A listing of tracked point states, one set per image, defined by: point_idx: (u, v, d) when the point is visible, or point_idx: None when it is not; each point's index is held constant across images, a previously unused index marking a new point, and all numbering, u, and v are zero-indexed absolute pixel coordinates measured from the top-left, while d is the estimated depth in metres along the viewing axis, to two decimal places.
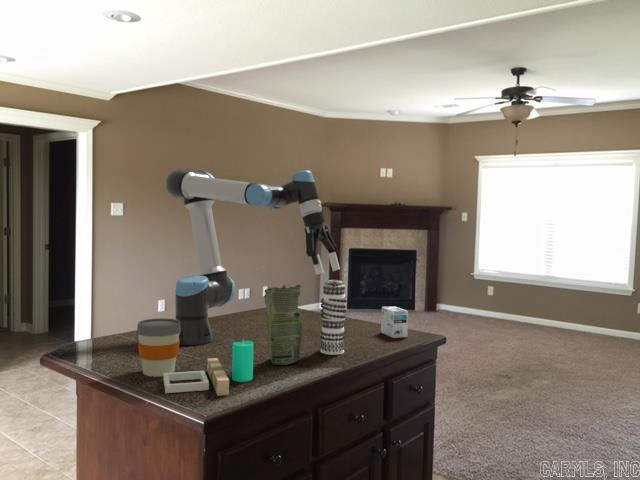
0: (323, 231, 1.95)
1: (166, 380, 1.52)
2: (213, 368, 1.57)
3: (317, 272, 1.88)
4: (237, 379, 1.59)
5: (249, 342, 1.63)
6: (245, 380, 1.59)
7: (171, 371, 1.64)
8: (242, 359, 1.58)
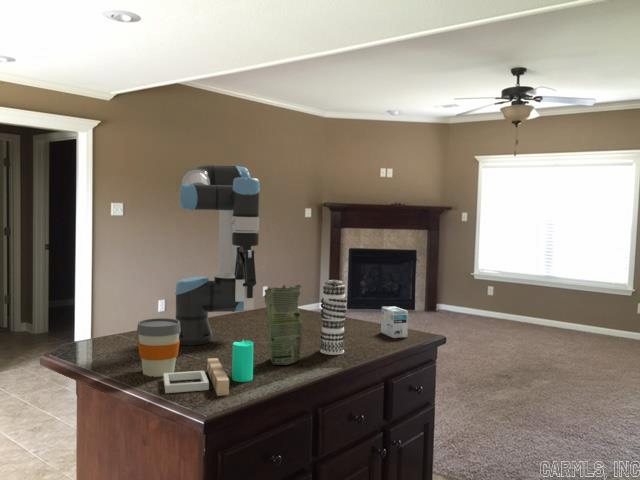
0: (239, 256, 1.58)
1: (166, 380, 1.52)
2: (213, 368, 1.57)
3: None
4: (237, 379, 1.59)
5: (249, 342, 1.63)
6: (245, 380, 1.59)
7: (171, 371, 1.64)
8: (242, 359, 1.58)
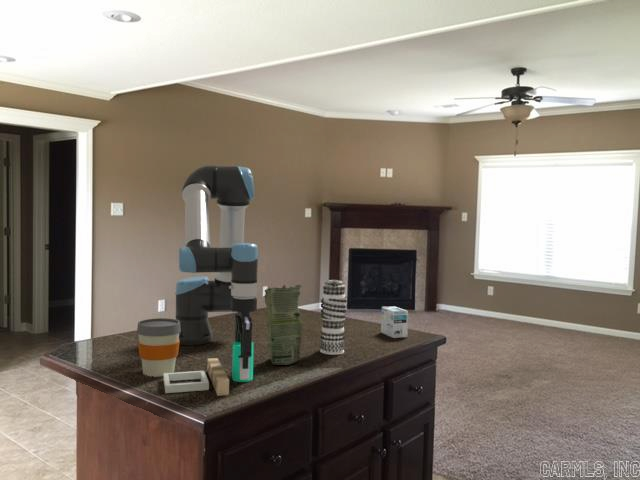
0: None
1: (166, 380, 1.52)
2: (213, 368, 1.57)
3: None
4: (237, 379, 1.59)
5: None
6: (245, 380, 1.59)
7: (171, 371, 1.64)
8: None
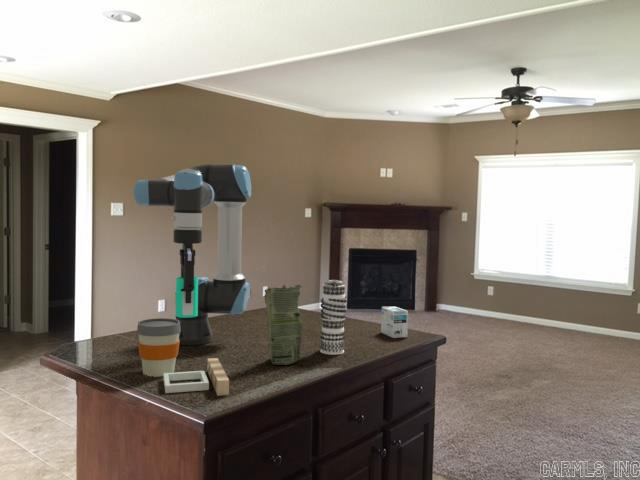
0: None
1: (166, 380, 1.52)
2: (213, 368, 1.57)
3: None
4: (180, 315, 1.50)
5: (194, 277, 1.54)
6: (189, 316, 1.50)
7: (171, 371, 1.64)
8: None
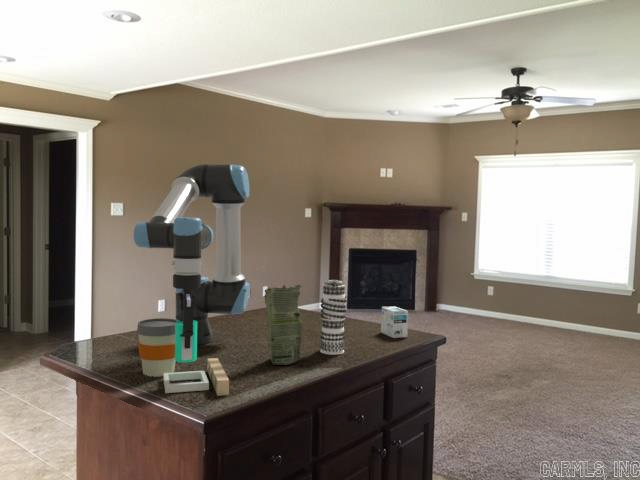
0: (180, 298, 1.52)
1: (166, 380, 1.52)
2: (213, 368, 1.57)
3: None
4: (179, 360, 1.51)
5: (193, 321, 1.55)
6: (188, 361, 1.51)
7: (171, 371, 1.64)
8: None
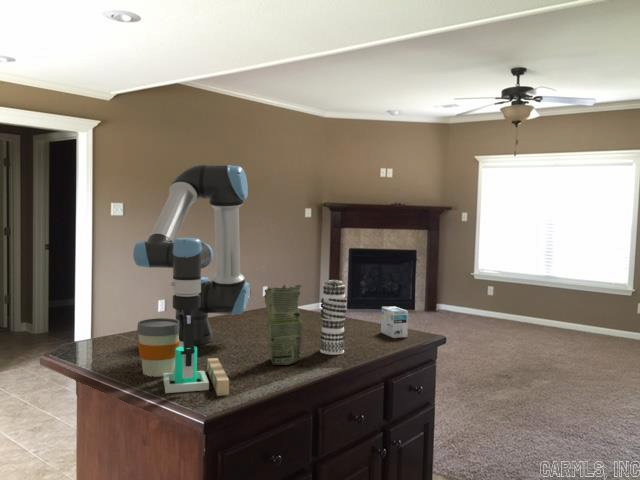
0: (179, 320, 1.52)
1: (166, 380, 1.52)
2: (213, 368, 1.57)
3: None
4: None
5: None
6: None
7: (171, 371, 1.64)
8: None
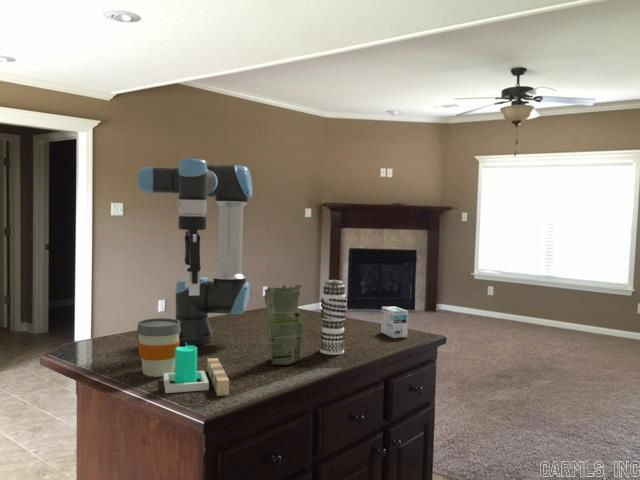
0: (185, 240, 1.53)
1: (166, 380, 1.52)
2: (213, 368, 1.57)
3: None
4: None
5: (193, 347, 1.56)
6: None
7: (171, 371, 1.64)
8: (184, 365, 1.51)
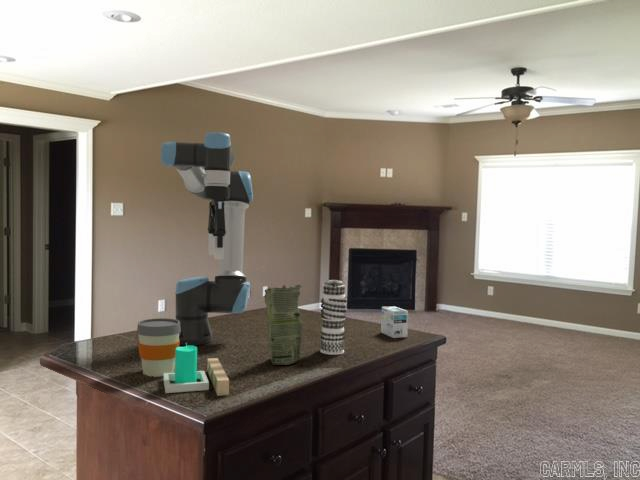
0: (210, 209, 1.63)
1: (166, 380, 1.52)
2: (213, 368, 1.57)
3: None
4: None
5: (193, 347, 1.56)
6: None
7: (171, 371, 1.64)
8: (184, 365, 1.51)
